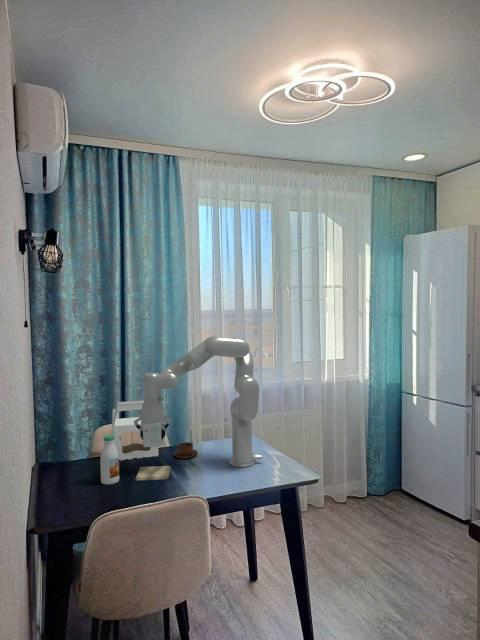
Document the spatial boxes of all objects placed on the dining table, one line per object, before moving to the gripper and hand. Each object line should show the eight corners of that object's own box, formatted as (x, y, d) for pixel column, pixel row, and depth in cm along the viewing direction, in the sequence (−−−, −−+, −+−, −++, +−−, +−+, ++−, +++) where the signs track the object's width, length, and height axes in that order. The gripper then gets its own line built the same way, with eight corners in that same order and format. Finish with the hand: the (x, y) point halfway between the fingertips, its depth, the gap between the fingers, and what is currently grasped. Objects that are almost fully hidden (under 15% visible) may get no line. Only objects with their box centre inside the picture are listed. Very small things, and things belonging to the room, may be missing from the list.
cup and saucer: (177, 452, 242) (177, 440, 242) (200, 453, 241) (199, 441, 240) (171, 459, 230) (170, 447, 230) (194, 460, 229) (194, 448, 229)
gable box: (114, 461, 230) (112, 405, 229) (112, 453, 242) (111, 400, 242) (159, 456, 237) (157, 401, 236) (155, 448, 249) (154, 397, 249)
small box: (163, 443, 213) (162, 420, 212) (160, 447, 207) (160, 423, 207) (146, 443, 213) (145, 420, 213) (143, 447, 207) (142, 423, 207)
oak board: (170, 468, 217) (170, 465, 217) (168, 479, 203) (167, 476, 203) (140, 469, 217) (140, 466, 216) (135, 480, 203) (135, 477, 203)
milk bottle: (102, 486, 197) (101, 439, 196) (99, 480, 203) (98, 435, 203) (121, 482, 200) (120, 436, 200) (117, 477, 207) (116, 432, 207)
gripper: (172, 398, 214) (172, 435, 214) (133, 399, 213) (134, 437, 213) (170, 401, 206) (171, 440, 206) (131, 402, 205) (132, 441, 205)
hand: (152, 438), depth 210 cm, fingers closed on small box, 8 cm apart
